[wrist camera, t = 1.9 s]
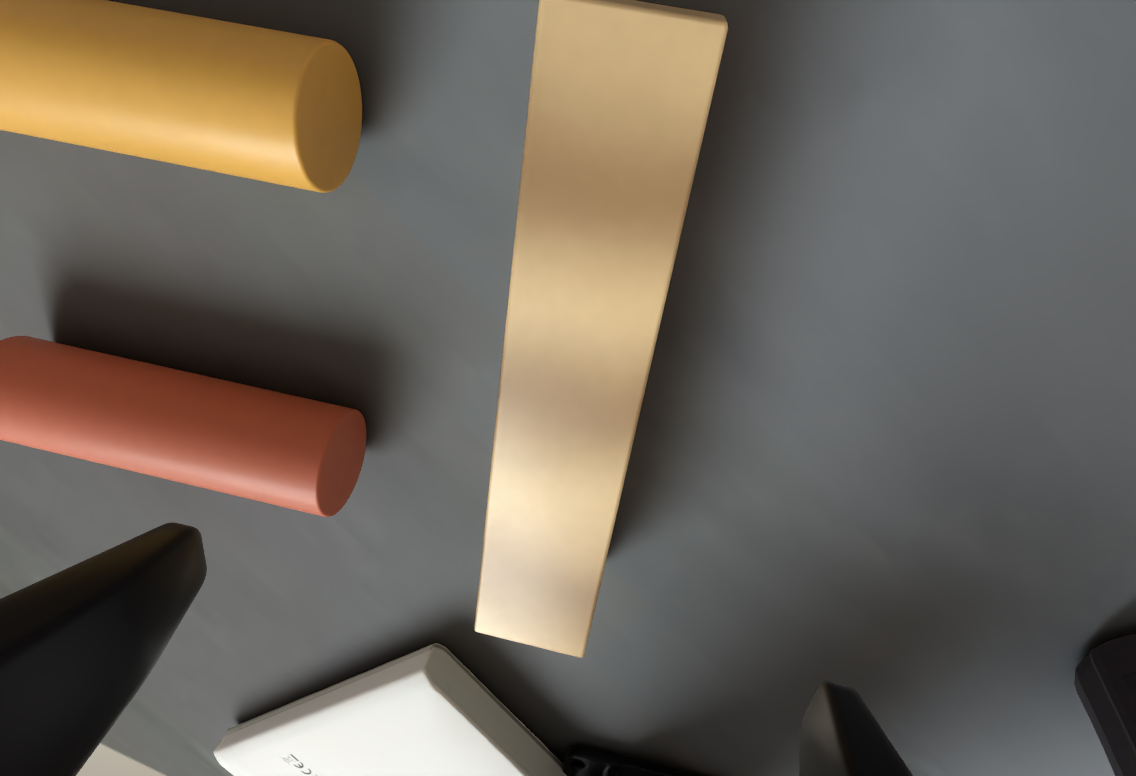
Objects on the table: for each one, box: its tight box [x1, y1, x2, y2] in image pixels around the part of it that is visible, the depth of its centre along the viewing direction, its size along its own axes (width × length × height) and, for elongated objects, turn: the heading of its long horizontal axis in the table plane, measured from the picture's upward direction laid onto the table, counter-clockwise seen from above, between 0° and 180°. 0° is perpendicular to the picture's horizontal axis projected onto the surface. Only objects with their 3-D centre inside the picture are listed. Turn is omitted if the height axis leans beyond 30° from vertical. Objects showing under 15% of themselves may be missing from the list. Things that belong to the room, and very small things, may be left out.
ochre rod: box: [0, 0, 362, 193], centre depth 15 cm, size 3×10×3 cm, turn 82°
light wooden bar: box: [475, 0, 728, 658], centre depth 16 cm, size 15×3×4 cm, turn 172°
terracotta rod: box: [0, 336, 366, 517], centre depth 20 cm, size 3×10×3 cm, turn 83°
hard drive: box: [214, 643, 567, 776], centre depth 27 cm, size 2×8×12 cm
